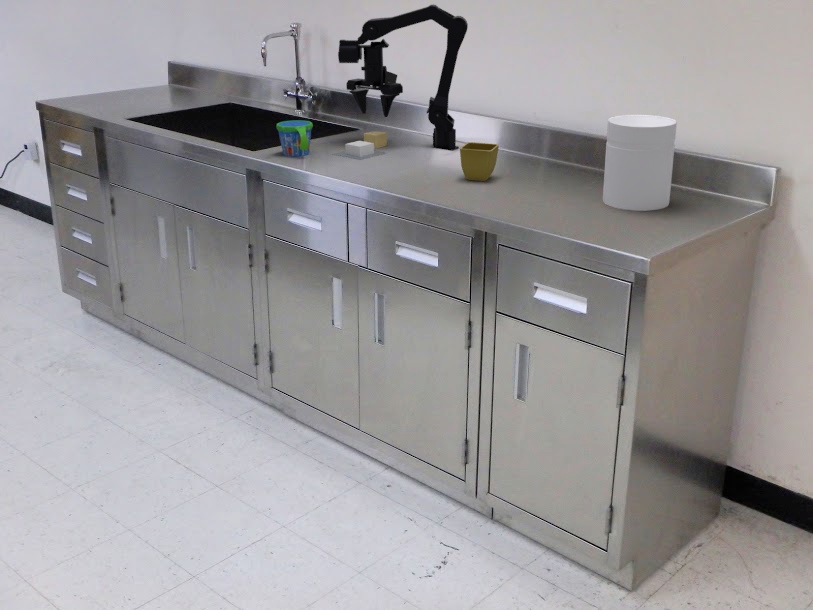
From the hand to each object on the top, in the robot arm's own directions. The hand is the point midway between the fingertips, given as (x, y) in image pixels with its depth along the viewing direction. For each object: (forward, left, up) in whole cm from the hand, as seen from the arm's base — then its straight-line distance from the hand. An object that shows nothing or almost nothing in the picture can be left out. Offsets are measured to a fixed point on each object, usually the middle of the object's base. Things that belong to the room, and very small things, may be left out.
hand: (375, 115), depth 289 cm
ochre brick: (0, 0, -11) cm, 11 cm away
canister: (-92, +4, -11) cm, 93 cm away
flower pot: (-48, +10, -11) cm, 50 cm away
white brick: (-4, +11, -9) cm, 15 cm away
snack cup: (+11, +23, -11) cm, 28 cm away
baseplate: (-4, +11, -10) cm, 16 cm away
